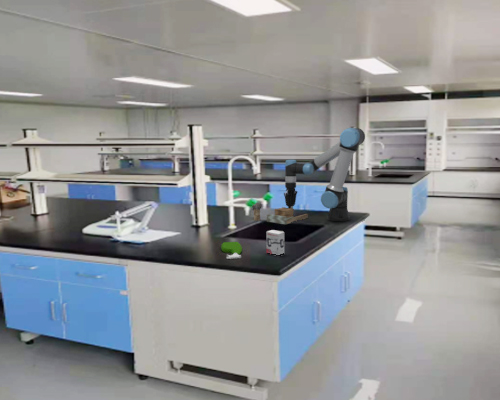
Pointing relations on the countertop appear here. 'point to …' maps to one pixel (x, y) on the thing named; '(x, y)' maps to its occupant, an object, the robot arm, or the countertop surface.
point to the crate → (284, 212)
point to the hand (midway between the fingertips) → (290, 215)
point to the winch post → (257, 211)
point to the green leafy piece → (232, 249)
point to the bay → (284, 218)
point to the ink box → (275, 242)
